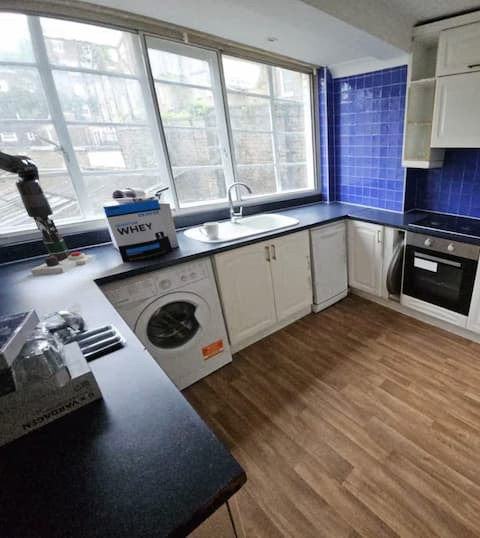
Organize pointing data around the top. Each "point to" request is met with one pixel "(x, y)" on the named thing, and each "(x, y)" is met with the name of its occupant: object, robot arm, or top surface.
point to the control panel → (54, 268)
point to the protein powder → (139, 230)
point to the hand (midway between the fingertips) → (52, 240)
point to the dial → (51, 261)
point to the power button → (75, 254)
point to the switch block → (81, 258)
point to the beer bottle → (57, 248)
